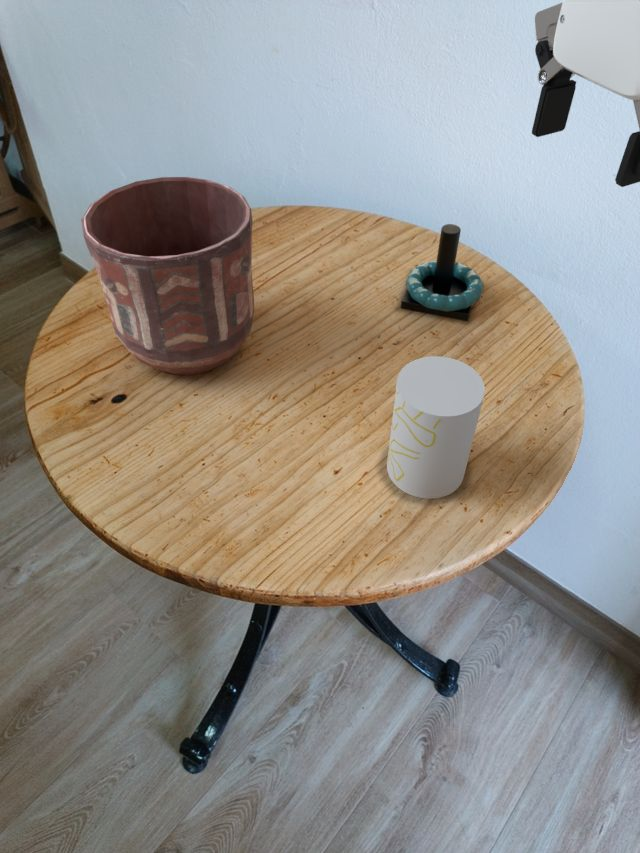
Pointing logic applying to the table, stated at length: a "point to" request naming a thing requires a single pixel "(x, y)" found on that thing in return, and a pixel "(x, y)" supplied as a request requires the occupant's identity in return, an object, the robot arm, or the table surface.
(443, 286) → the peg stand
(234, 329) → the pottery
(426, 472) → the grey cylinder
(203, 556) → the table surface
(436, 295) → the ring
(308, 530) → the table surface
